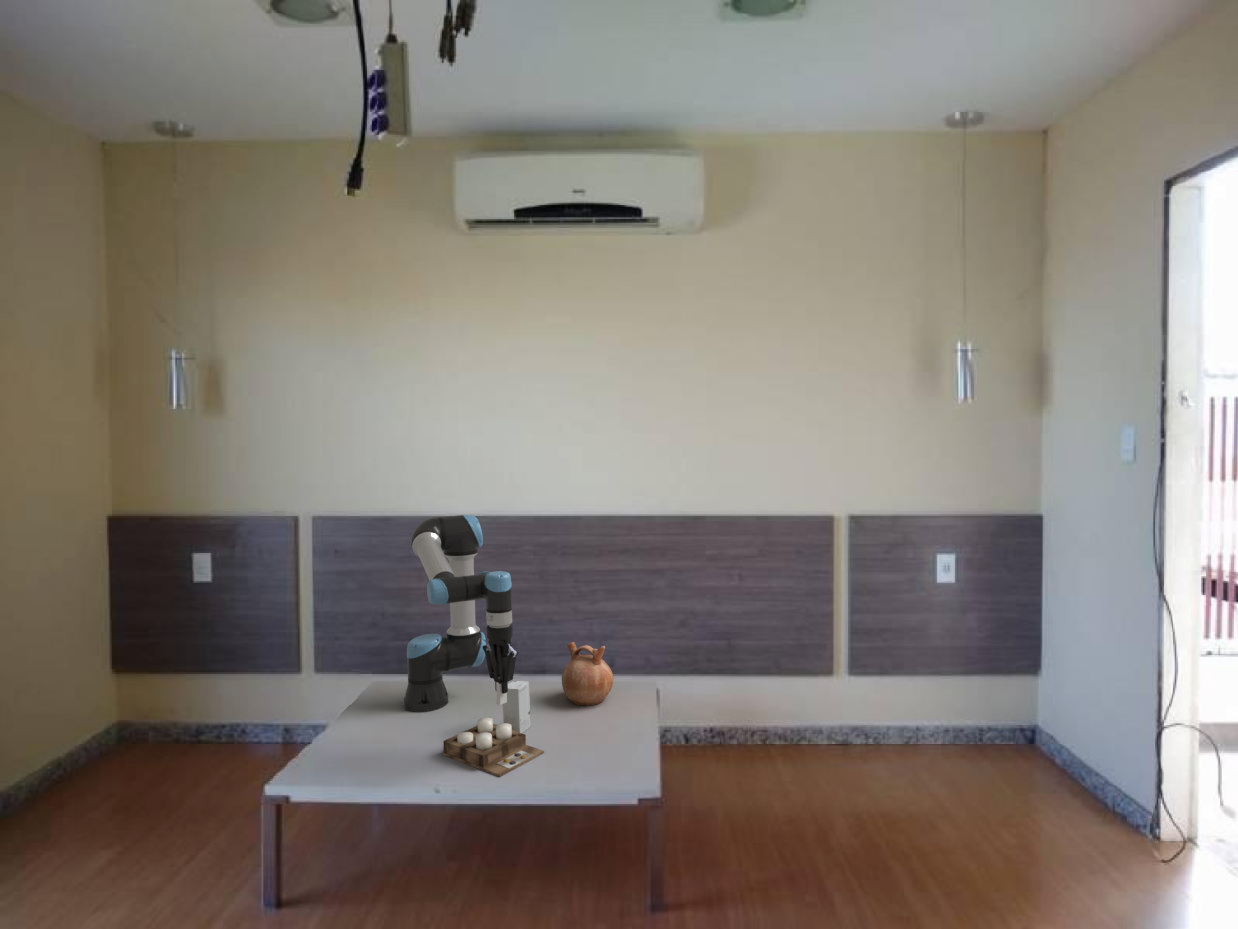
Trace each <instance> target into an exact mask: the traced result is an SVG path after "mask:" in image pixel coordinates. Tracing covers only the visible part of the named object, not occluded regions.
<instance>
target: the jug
mask: <svg viewBox="0 0 1238 929" xmlns="http://www.w3.org/2000/svg"><path fill="white" fill-rule="evenodd" d="M567 648H568V650H569V654H570V657H571V660H570V661H569V662H568V664H566V665H565V667H564V669H563V671H562V673H561V687H562V690H563V692H564V693H565V696H566V697H567V698H568V699H569V700H570V702H572V703H573V704H575V705H576V706H577V705H578V706H583V707H584V706H585V707H586V706H587V705H589V706H594V705H595V704H596V705H599V704H601V703H602V702H603V701H605V700H606V698H607V697H608V695H609V694H610V692H611V690H612V689H613V686H614V673H613V670H612V669H611V667H610V665H609V664H608V663H606V661H605V660H604V659H603V655H604V653H605V649H606V646H605V645H602V646H600V647H599V649H598V648H593V647H592V646H591V645H588V644H585V645H582V646H579V647H577V645H576V643H575V641H571V642H570V643H568V644H567ZM581 651H586V652H588V653H590V654H580V652H581ZM587 707H588V706H587Z"/></svg>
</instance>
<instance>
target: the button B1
mask: <svg viewBox="0 0 1238 929" xmlns="http://www.w3.org/2000/svg"><path fill="white" fill-rule="evenodd" d="M490 748H492V734H491V733H479V734H477V735H476V749H478V750H480V751H483V752H484V751H486V750H488V749H490Z"/></svg>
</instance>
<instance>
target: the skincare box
mask: <svg viewBox="0 0 1238 929" xmlns="http://www.w3.org/2000/svg"><path fill="white" fill-rule="evenodd" d="M530 705H531V701H530V682H529V681H527V680H526V681H525V680H511V681H510V682H508V692H507V702H506V703H504V704H502V714H503V715H502V720H503V721H502V722H503V723H508V724H511V726H512V730H513V731H516V732H519V733H522V734H524V733H525V732H526V731H527V730H528V729H529V728H531V707H530Z"/></svg>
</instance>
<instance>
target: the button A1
mask: <svg viewBox="0 0 1238 929" xmlns="http://www.w3.org/2000/svg"><path fill="white" fill-rule="evenodd" d="M462 732H463V733H462ZM462 732H460V733H458V735H457V734H456V735H457V741H458V742H459V743H461V744H464V745H465V744H467V743H469V742H471V741H473V733H471V732H464V731H462Z"/></svg>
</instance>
